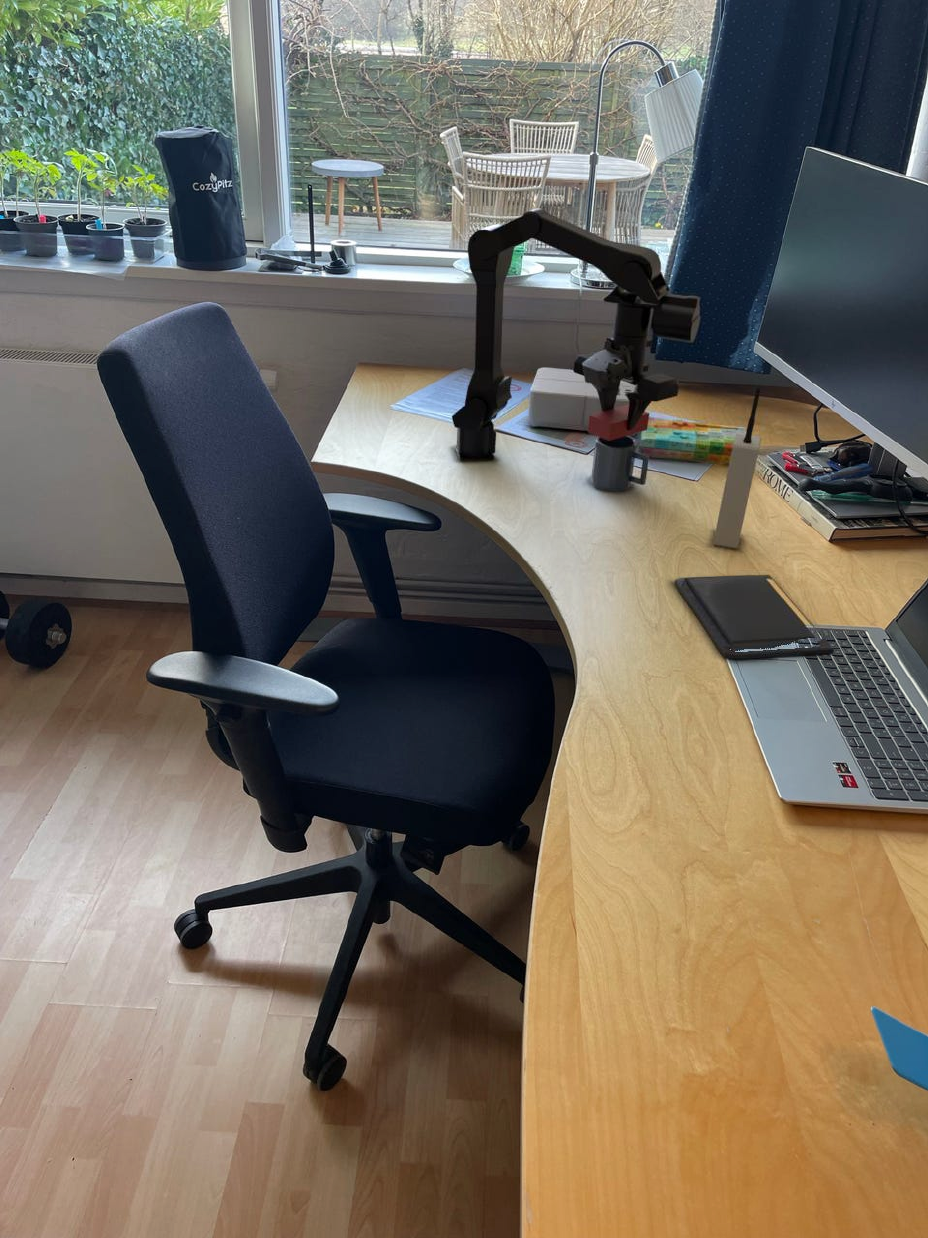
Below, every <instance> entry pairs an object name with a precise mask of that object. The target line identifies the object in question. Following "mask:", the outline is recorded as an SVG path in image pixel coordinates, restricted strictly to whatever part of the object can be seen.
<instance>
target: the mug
mask: <svg viewBox="0 0 928 1238" xmlns="http://www.w3.org/2000/svg"><path fill="white" fill-rule="evenodd" d="M637 447H638V441H637V440H636V439H635V438H634V437H633V436H632V437H630V436H625V437H621V438H618V439H615V440H611V441H608V440H605V439H603V438H601V437H598V436H596V438H595V444H594V452H593V453H594V454H593V459H592V460H593V461H592V468H591V476H590V477H591V478H590V483H591V485H592V486H593V487H594V488H596V489H598V490H600V491H605V492H610V493H611V492H613V493H614V492H615V493H619V492H625V491H628V490H629V489H630V488H631V487H632V483H634V484H637V485H639V486H644V485H645V484H646V483H647V482H646V481H647V477H648V470H649V469H648V468H649V463H650V457H649V456H648V455H645V454H644V453H641V452H637ZM636 459H637V460H640V461H642V463H641V464H642V465H641V470H640V476H639V477H638V476H634V475H633V474H634V467H635V461H636Z"/></svg>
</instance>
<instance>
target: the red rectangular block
mask: <svg viewBox="0 0 928 1238" xmlns="http://www.w3.org/2000/svg"><path fill="white" fill-rule="evenodd" d="M628 411H629V405H626V406H622V407H618V408H614V409H611V410H607V411H603V412H600V413H596V414H592V415H590V416H589V425H588V431H587V433H589V434H590V435H591V434H592V435H594V436H596V437H601V438H603V439H605V440H608V441H611V440H615V439H618V438H621V437H625V436H628V435H631V434H635V433H637V434H639V433H641V431H645V430H647V426H648V420H649V418H650V412H647V411H646V410H645V411H644V413H643V414H642V416H641V417H640V419H639V420H638V422H637V424H636V425H635V427H634V428H633V429H632V430H630V431H629V430H627V419H628ZM635 435H636V434H635Z"/></svg>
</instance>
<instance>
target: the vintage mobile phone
mask: <svg viewBox="0 0 928 1238" xmlns="http://www.w3.org/2000/svg"><path fill="white" fill-rule="evenodd" d="M761 390H762V388H761V387H760V386H757V387H756V389H755V391H754V392H755V393H754V398H753V403H752V407H751V411H750V416H749V419H748V422H747V427H746V430H747V431H746V435H745V434H738V433H737V434H736V436H735V440H734V444H733V448H732V453H731V458H730V461H728V469H727V473H726V477H725V482H724V487H723V492H722V497H721V503H720V507H719V511H718V512H719V513H718V517H717V521H716V526H715V532H714V537H713V542H712V545H714V546H716V547H717V546H718V547H722V548H729V549H734V550H737V549H738V548H739V543H740V538H741V534H742V529H743V525H744V520H745V515H746V511H747V507H748V503H749V502H748V501H749V498H750V493H751V488H752V485H753V479H754V475H755V470H756V466H757V460H758V458H759V457H758V455H759V452H760V447H761V442H762V436H757V435H753V431H754V426H755V423H756V422H755V421H756V412H757V409H758V403H759V398H760V394H761Z"/></svg>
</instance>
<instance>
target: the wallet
mask: <svg viewBox="0 0 928 1238" xmlns="http://www.w3.org/2000/svg"><path fill="white" fill-rule="evenodd" d="M673 584H674V585H675V587H676V589H677V591H678V592H679V594H680V595H681V596H682V599H684V601H685V602H686V604H687V605H688V606H689V608H690V609H691V611H692V612H693V613H694V615H695V616H696V618H697V619H698V621H699V622H700V624H701V625H702V628H704V629H705V631H706V633H707V635H708V636H709V637H710V639H711V641H712V642H713V644H714V645H715V647H716V649H717V650H718V652H719V653H720V654H721V656H723V657H724V658H727V659H731V660H732V659H733V660H750V659H761V658H764V659H765V658H777V657H792V656H793V657H794V656H795V657H796V656H811V655H813V656H814V655H826V654H827V655H829V654H833V653H834V648H833V646H832V645H831V644H830V643H829V642H828V640H827V639H826V638H825V637H824V635H822V634H821V632H819V630H818V629H817V628H816V627H815V626H814V624H812V622H811V621H810V620H809V619H808V618H807V617H806V615H805V614H804V613H803V612H802V611H801V610H800V609H799V607H798V606H797V604H795V603H794V602H793V600H792V599H791V598H790V597H789V596H788V595H787V594H786V592H785V591H784V590H783V589H782V588H781V587H780V585H779V584H778V583H777V582H776V581H775V580H774V579H773V577H772V576H771V575H770V574H741V575H716V576H715V575H714V576H712V575H711V576H687V577H679V578H676V579H674V583H673ZM806 625H812V626H813V628H814V629H815V630H816V631H817V632H818V633H819V635H820V636H821V637H822V639H821V640H820V641H818V643H819V645H820V647H812V648H795V649H777V650H763V651H748V652H735V651H738V650H739V651H740V650H744V649H760V648H761V649H765V648H766V649H767V648H768V649H769V648H770V649H771V648H775V647H777V646H778V647H779V646H781V645H787V644H788V645H789V644H791V643H792V642H793V643H794V641H795V643H798V640H799V639H807V638H815V636H814V635H813V634H812V633H811V631H810V630H809V629H808V628H807V627H806ZM801 642H802V641H801ZM799 643H800V641H799ZM730 649H731V650H730Z"/></svg>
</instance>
